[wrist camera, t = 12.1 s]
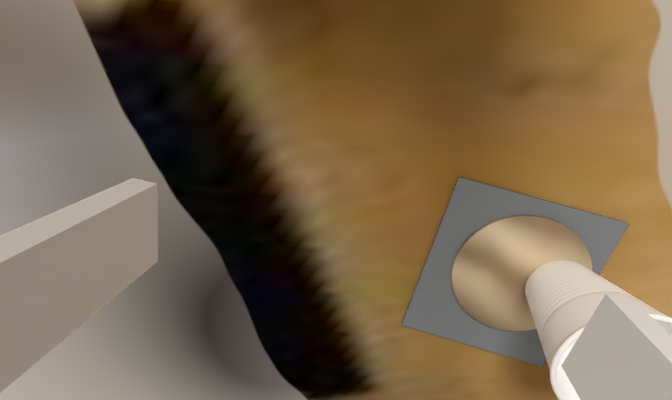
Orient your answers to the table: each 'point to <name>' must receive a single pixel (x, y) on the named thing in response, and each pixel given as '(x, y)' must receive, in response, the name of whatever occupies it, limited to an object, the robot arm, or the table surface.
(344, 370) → the table surface
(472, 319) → the placemat
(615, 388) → the robot arm
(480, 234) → the coaster
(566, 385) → the cup
